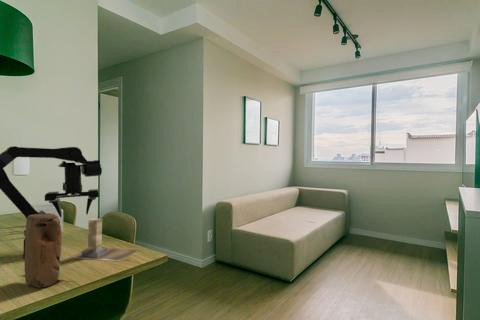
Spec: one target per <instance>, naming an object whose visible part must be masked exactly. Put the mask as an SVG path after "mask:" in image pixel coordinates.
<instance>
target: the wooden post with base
mask: <svg viewBox="0 0 480 320" xmlns="http://www.w3.org/2000/svg"><path fill="white" fill-rule="evenodd" d="M87 225H88V226H87V229H88V230H87V232H88V233H87V234H88V235H87V248H88V249H87V248H85V249H86V250H85V249H83V250H84V251H83V250H81V251H82V257H86V258H99V257H100V256H102V255H104V254H106V253H107V248H108V247H107V246H103V244H102V243H103V242H102V241H103V239H102V237H103V218H97V217H96V218H95V217H94V218H91V219H88V223H87Z"/></svg>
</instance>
